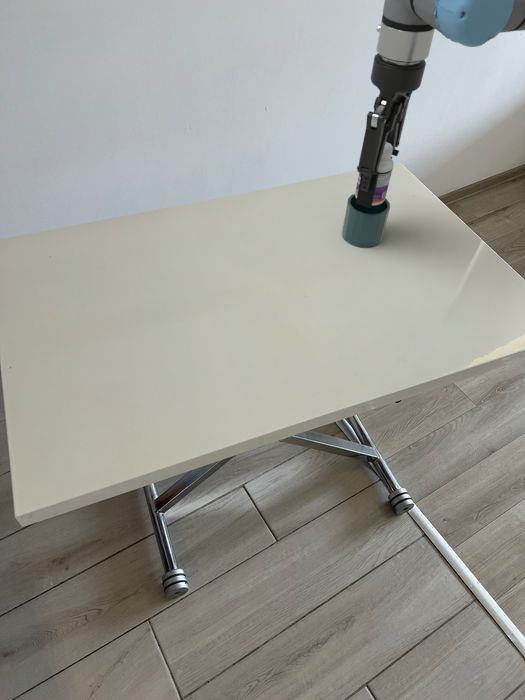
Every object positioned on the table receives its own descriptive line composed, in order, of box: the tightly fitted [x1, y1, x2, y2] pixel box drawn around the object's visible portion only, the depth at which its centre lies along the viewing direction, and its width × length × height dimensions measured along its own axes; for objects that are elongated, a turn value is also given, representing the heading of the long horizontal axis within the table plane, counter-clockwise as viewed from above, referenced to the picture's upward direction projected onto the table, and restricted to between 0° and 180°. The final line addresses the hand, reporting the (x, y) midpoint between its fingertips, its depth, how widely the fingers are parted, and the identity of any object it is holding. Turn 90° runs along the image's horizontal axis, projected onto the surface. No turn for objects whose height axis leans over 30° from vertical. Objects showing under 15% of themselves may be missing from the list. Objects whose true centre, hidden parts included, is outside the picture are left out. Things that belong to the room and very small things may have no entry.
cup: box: [341, 193, 391, 249], centre depth 98 cm, size 8×8×7 cm
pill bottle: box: [354, 142, 394, 205], centre depth 91 cm, size 5×5×10 cm
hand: (370, 196), depth 94 cm, fingers closed on pill bottle, 5 cm apart
